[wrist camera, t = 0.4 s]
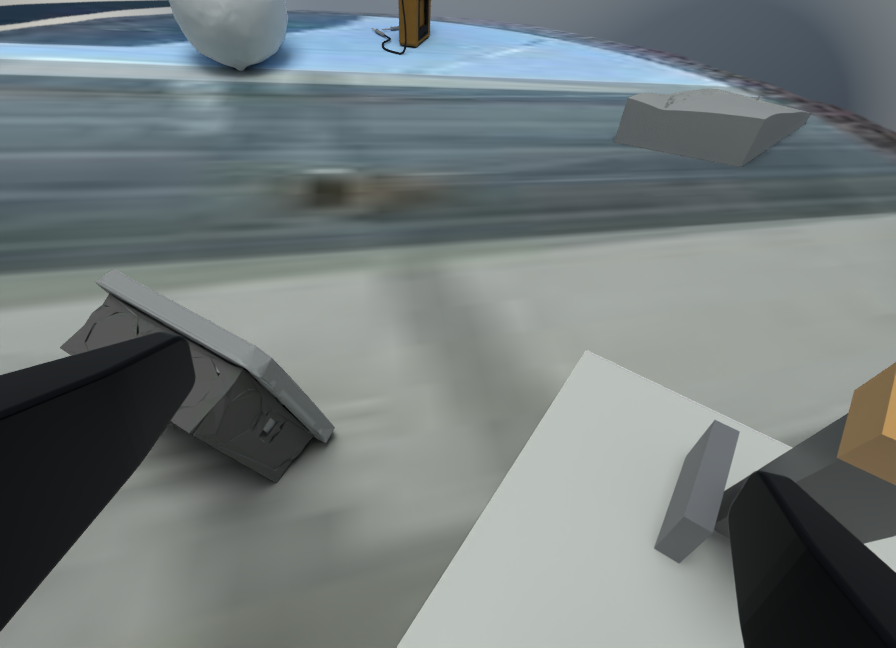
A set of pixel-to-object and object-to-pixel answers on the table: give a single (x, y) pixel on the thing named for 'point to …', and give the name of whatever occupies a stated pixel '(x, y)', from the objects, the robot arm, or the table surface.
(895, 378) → the handle
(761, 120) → the ramp
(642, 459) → the thin white panel
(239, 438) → the electrical switch
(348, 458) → the table surface
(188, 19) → the skull planter
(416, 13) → the multimeter
